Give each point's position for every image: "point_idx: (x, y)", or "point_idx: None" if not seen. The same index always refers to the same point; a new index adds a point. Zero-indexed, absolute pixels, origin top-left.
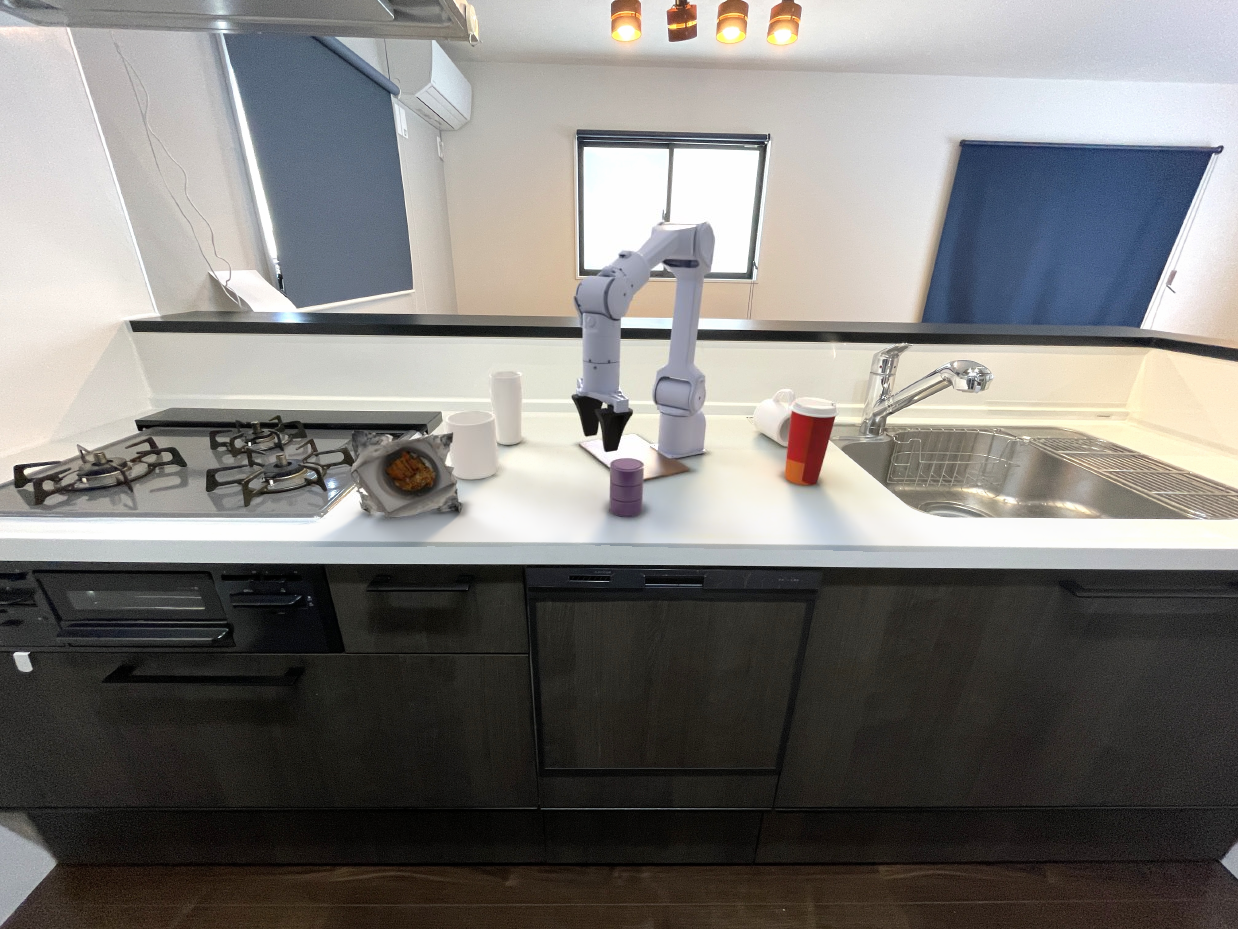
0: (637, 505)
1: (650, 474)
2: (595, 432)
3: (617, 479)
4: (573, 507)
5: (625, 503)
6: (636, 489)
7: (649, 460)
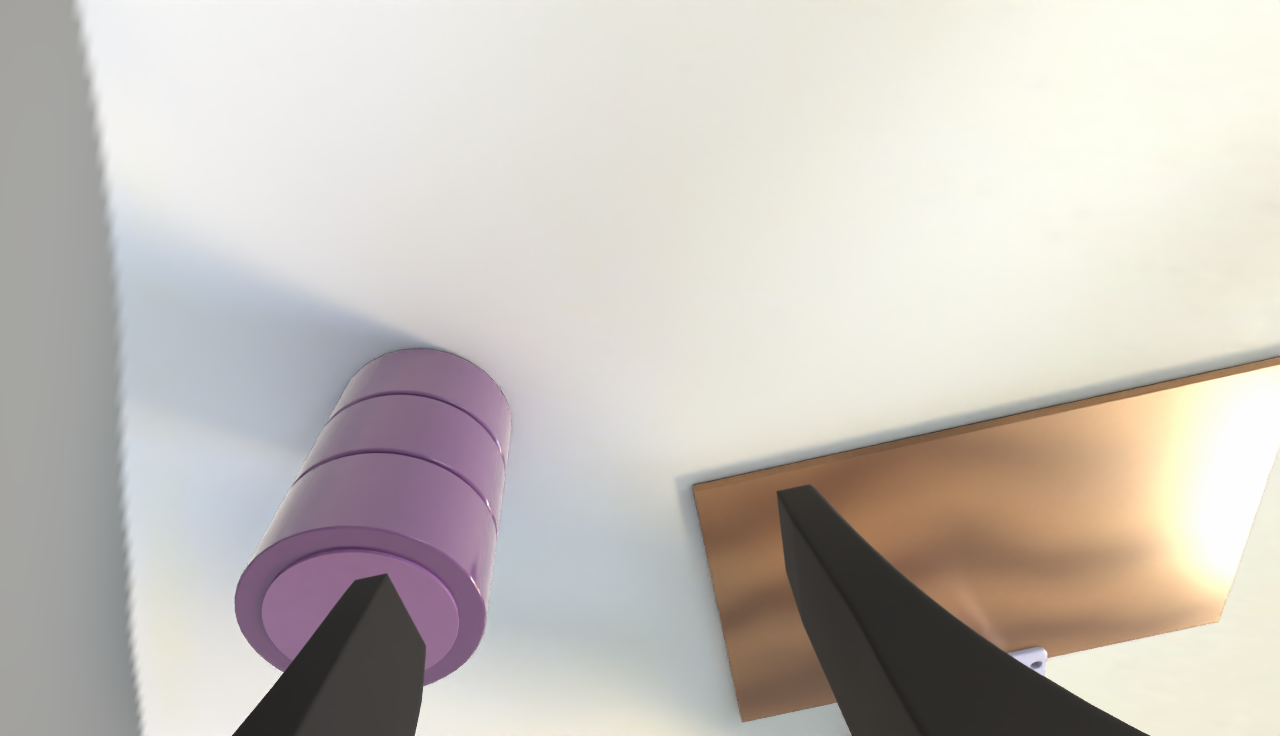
0: None
1: (744, 589)
2: (791, 583)
3: (285, 503)
4: (483, 163)
5: None
6: None
7: None
